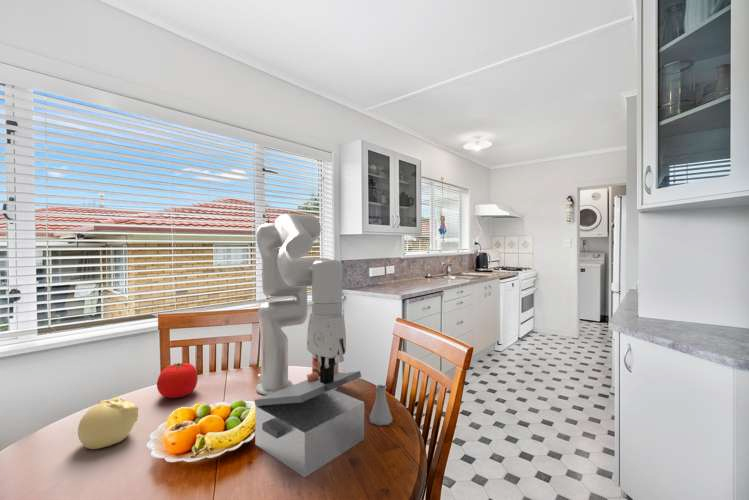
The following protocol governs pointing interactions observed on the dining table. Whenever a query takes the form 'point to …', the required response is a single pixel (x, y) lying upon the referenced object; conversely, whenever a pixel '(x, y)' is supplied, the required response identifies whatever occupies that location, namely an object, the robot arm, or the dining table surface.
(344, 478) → the dining table surface
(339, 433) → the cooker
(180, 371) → the tomato
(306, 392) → the lid
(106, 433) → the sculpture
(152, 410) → the dining table surface
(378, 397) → the flask
